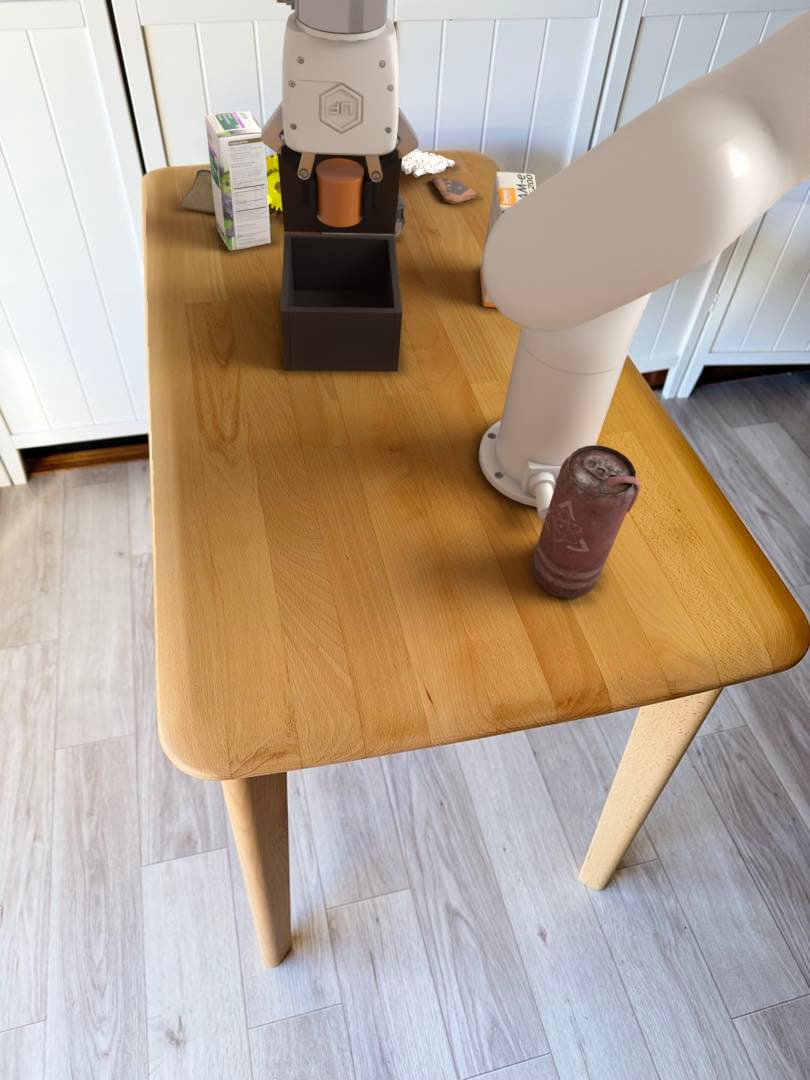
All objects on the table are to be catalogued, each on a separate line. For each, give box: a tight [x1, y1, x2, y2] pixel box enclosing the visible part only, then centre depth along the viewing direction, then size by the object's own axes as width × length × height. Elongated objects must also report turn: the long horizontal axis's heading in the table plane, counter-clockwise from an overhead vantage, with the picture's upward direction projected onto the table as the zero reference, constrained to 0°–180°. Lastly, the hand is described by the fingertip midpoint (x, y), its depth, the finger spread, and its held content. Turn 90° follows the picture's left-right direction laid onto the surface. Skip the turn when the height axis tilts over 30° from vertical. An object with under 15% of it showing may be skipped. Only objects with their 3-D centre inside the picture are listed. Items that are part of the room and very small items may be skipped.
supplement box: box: [479, 171, 537, 308], centre depth 97 cm, size 8×5×13 cm, turn 179°
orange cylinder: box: [316, 158, 364, 227], centre depth 79 cm, size 5×5×4 cm
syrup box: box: [204, 110, 272, 252], centre depth 100 cm, size 6×6×14 cm
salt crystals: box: [401, 148, 456, 179], centre depth 114 cm, size 20×20×2 cm
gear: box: [266, 153, 283, 218], centre depth 107 cm, size 8×4×8 cm
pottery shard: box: [431, 176, 478, 205], centre depth 115 cm, size 7×1×5 cm
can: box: [531, 444, 642, 599], centre depth 69 cm, size 6×6×14 cm
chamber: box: [279, 232, 403, 372], centre depth 92 cm, size 15×13×8 cm
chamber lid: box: [276, 130, 402, 234], centre depth 86 cm, size 15×13×5 cm
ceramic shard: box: [178, 169, 216, 215], centre depth 107 cm, size 10×5×2 cm
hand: (339, 211), depth 80 cm, fingers closed on orange cylinder, 4 cm apart
